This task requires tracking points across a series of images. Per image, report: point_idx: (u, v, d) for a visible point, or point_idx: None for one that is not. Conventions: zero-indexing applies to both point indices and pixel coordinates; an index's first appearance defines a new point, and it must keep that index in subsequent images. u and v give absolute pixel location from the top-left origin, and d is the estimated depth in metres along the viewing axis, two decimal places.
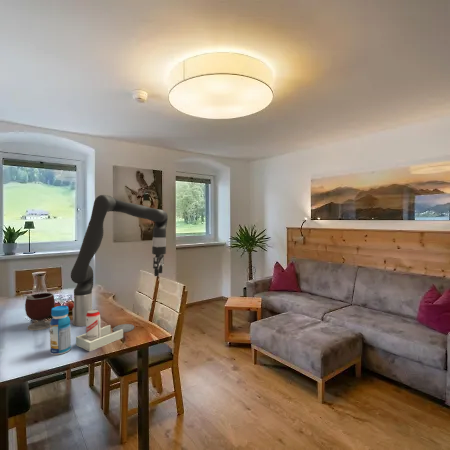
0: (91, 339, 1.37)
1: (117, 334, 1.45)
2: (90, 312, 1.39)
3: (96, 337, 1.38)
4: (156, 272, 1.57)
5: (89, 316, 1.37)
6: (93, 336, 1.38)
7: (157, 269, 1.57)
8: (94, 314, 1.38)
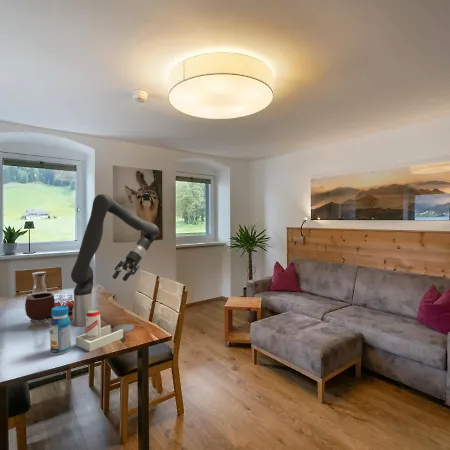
0: (91, 339, 1.37)
1: (117, 334, 1.45)
2: (90, 312, 1.39)
3: (96, 337, 1.38)
4: (127, 277, 1.50)
5: (89, 316, 1.37)
6: (93, 336, 1.38)
7: (130, 275, 1.51)
8: (94, 314, 1.38)
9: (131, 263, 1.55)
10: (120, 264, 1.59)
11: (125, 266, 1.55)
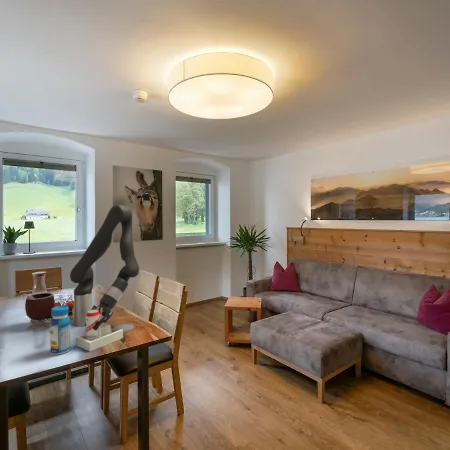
0: (91, 339, 1.37)
1: (117, 334, 1.45)
2: (90, 312, 1.39)
3: (96, 337, 1.38)
4: (98, 326, 1.38)
5: (89, 316, 1.37)
6: (93, 336, 1.37)
7: (101, 323, 1.39)
8: (94, 314, 1.38)
9: (105, 309, 1.42)
10: None
11: None
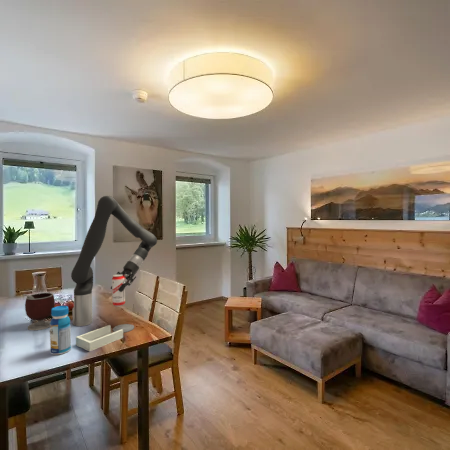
0: (117, 300, 1.52)
1: (117, 334, 1.45)
2: (115, 276, 1.53)
3: (121, 298, 1.53)
4: (123, 288, 1.52)
5: (114, 279, 1.52)
6: (119, 297, 1.52)
7: None
8: (119, 277, 1.52)
9: (128, 274, 1.57)
10: None
11: None
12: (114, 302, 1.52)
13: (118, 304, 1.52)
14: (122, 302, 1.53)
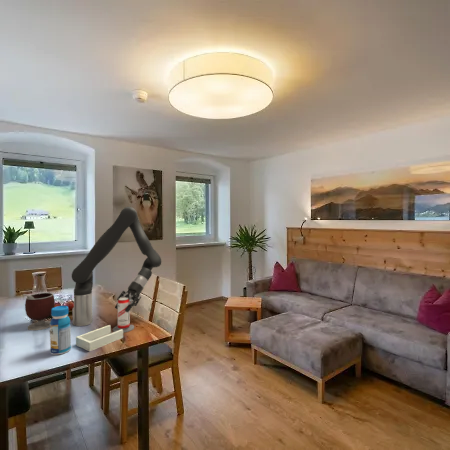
0: (122, 323, 1.56)
1: (117, 334, 1.45)
2: (121, 299, 1.57)
3: (126, 321, 1.57)
4: (129, 308, 1.56)
5: (120, 303, 1.56)
6: (124, 321, 1.56)
7: (132, 306, 1.57)
8: (125, 301, 1.56)
9: (133, 294, 1.61)
10: (122, 294, 1.65)
11: (127, 297, 1.61)
12: (119, 325, 1.56)
13: (123, 327, 1.56)
14: (127, 325, 1.57)
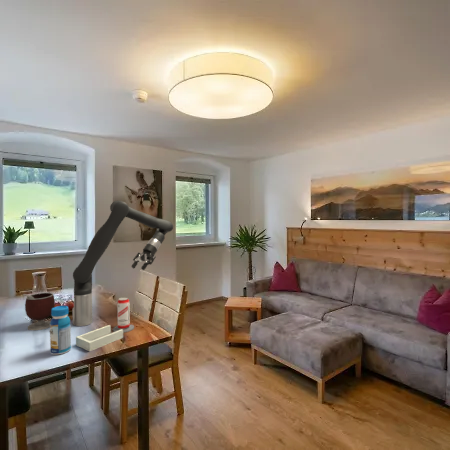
0: (122, 323, 1.56)
1: (117, 334, 1.45)
2: (121, 299, 1.57)
3: (126, 321, 1.57)
4: (145, 266, 1.69)
5: (120, 303, 1.56)
6: (124, 321, 1.56)
7: (147, 264, 1.70)
8: (125, 301, 1.56)
9: (148, 254, 1.74)
10: (138, 255, 1.78)
11: (143, 257, 1.74)
12: (119, 325, 1.56)
13: (123, 327, 1.56)
14: (127, 325, 1.57)
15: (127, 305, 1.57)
